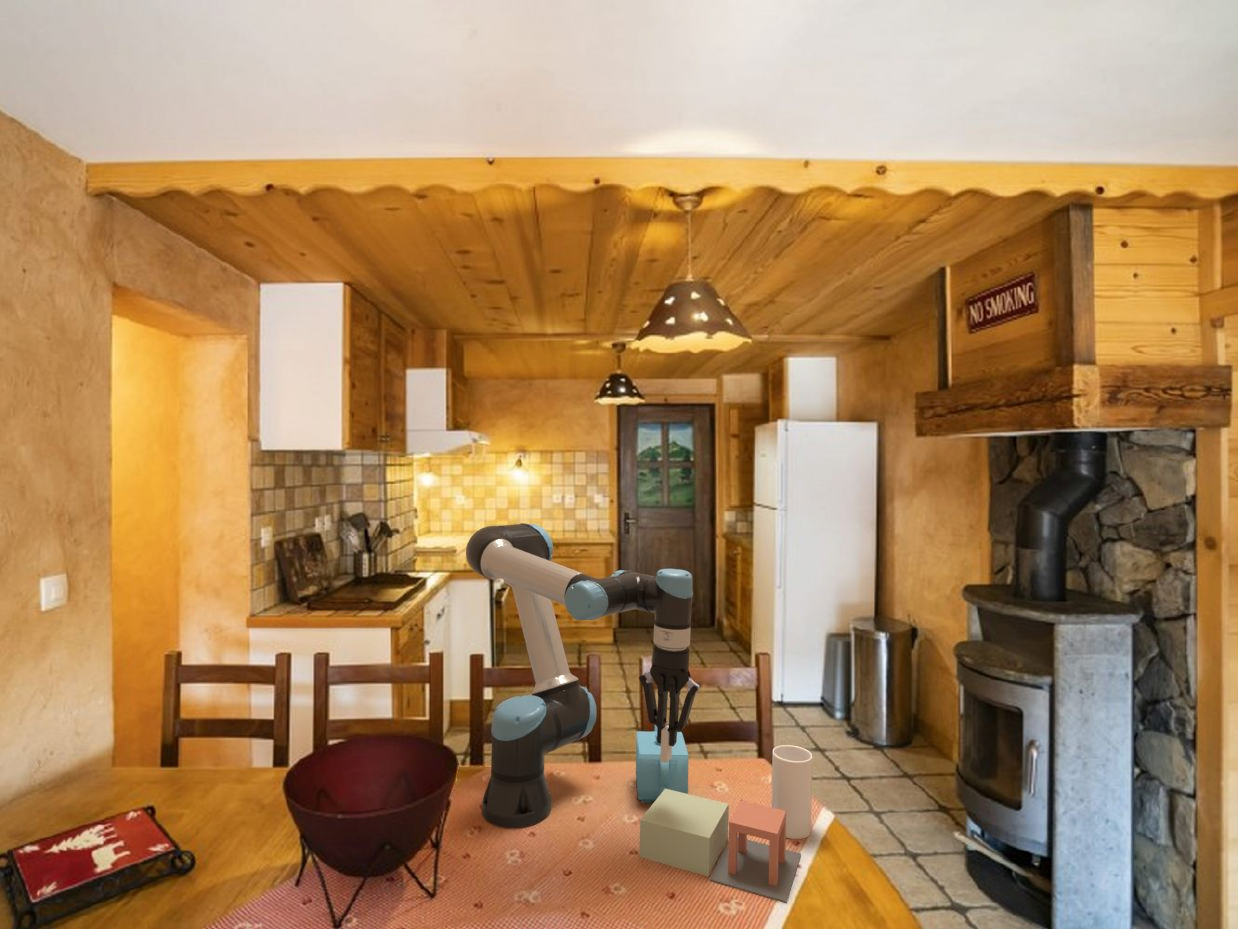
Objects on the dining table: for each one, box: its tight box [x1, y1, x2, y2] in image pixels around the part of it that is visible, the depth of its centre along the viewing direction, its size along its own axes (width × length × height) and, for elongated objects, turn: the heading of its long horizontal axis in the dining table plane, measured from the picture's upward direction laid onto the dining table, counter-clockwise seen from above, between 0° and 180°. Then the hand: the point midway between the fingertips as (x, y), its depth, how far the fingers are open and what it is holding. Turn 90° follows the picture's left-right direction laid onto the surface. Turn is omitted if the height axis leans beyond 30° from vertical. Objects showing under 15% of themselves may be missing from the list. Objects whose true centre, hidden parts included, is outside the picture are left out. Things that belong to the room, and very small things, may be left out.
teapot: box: [635, 724, 690, 804], centre depth 154 cm, size 22×11×14 cm, turn 1°
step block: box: [638, 789, 730, 878], centre depth 131 cm, size 14×14×7 cm
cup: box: [770, 744, 813, 840], centre depth 139 cm, size 8×8×16 cm
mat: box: [709, 839, 802, 904], centre depth 125 cm, size 14×16×1 cm
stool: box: [728, 799, 787, 886], centre depth 125 cm, size 10×9×9 cm
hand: (665, 759), depth 134 cm, fingers closed
